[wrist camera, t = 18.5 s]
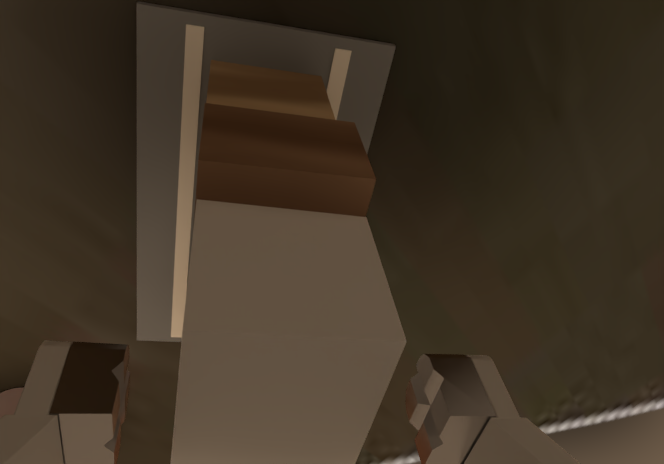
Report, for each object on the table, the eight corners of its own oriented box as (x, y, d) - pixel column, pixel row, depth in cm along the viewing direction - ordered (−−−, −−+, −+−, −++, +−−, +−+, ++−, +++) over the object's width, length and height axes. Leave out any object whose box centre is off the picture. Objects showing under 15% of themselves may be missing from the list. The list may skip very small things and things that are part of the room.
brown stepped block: (213, 31, 19) (197, 160, 12) (326, 49, 20) (376, 179, 13) (189, 335, 27) (173, 517, 20) (270, 338, 28) (280, 513, 21)
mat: (137, 0, 18) (136, 4, 18) (394, 44, 20) (396, 47, 20) (137, 335, 27) (136, 341, 27) (315, 342, 29) (316, 347, 29)
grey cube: (196, 199, 12) (183, 330, 9) (366, 217, 13) (406, 341, 10) (185, 324, 15) (170, 464, 11) (331, 332, 16) (354, 463, 12)
